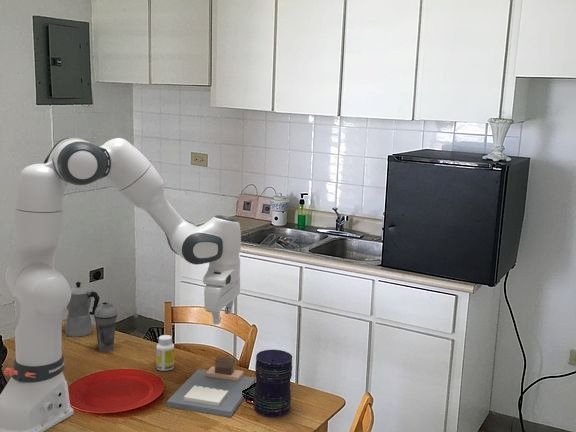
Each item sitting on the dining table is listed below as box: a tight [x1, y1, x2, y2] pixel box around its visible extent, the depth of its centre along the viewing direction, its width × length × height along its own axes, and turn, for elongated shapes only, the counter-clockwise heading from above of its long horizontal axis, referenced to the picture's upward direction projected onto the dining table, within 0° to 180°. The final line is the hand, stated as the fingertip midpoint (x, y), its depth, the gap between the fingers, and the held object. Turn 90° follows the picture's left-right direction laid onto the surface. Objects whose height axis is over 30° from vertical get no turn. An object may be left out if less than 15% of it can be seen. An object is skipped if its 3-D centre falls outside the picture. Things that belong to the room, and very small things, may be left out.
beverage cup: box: [93, 288, 118, 353], centre depth 207 cm, size 7×7×20 cm
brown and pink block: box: [205, 355, 244, 381], centre depth 189 cm, size 5×10×5 cm, turn 76°
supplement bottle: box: [155, 334, 175, 372], centre depth 195 cm, size 5×5×10 cm
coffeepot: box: [64, 281, 100, 338], centre depth 220 cm, size 15×9×18 cm, turn 66°
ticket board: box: [166, 368, 256, 418], centre depth 180 cm, size 22×18×3 cm
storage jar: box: [253, 349, 293, 419], centre depth 172 cm, size 10×10×15 cm
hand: (222, 318), depth 186 cm, fingers open, 8 cm apart
